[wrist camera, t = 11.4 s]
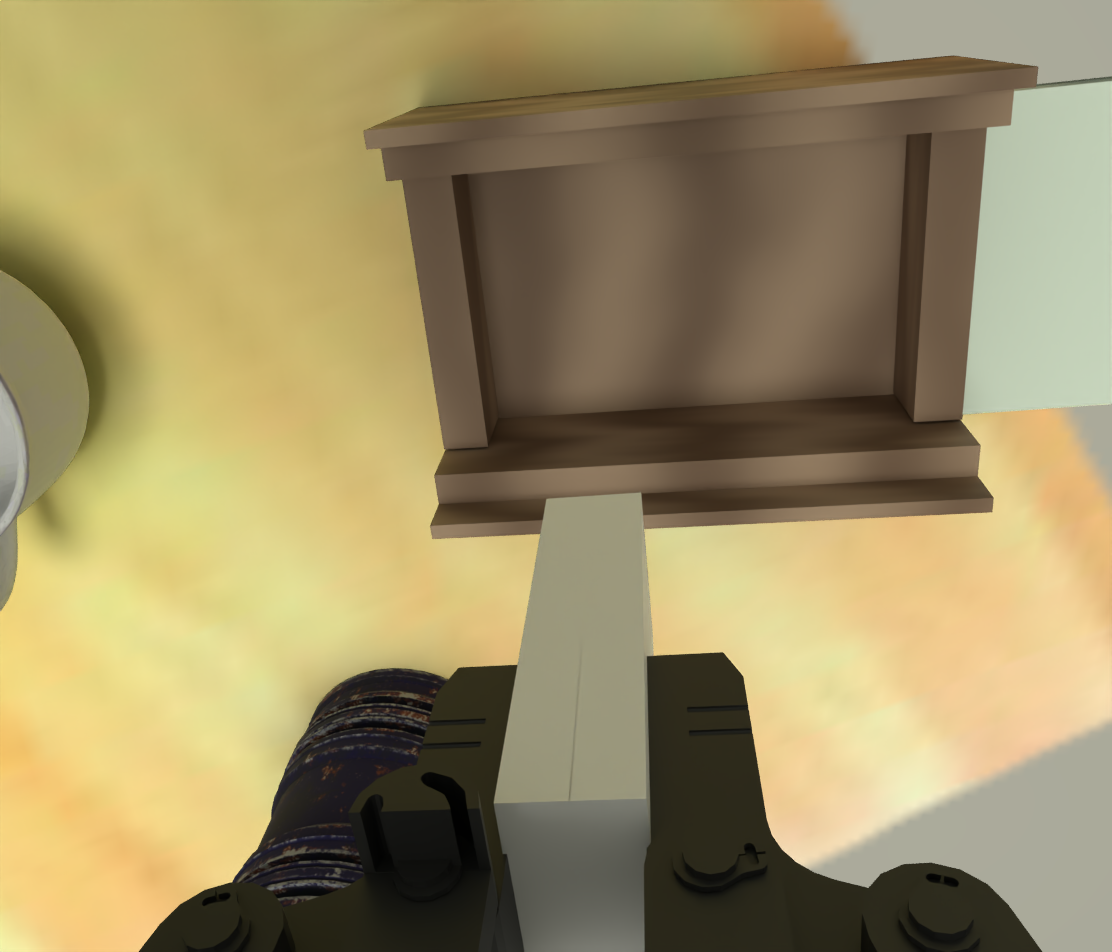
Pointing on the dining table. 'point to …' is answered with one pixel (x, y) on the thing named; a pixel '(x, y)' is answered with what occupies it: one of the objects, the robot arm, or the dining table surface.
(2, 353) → the teacup
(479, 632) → the dining table surface
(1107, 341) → the lid
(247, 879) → the dark blue barrel
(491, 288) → the box
